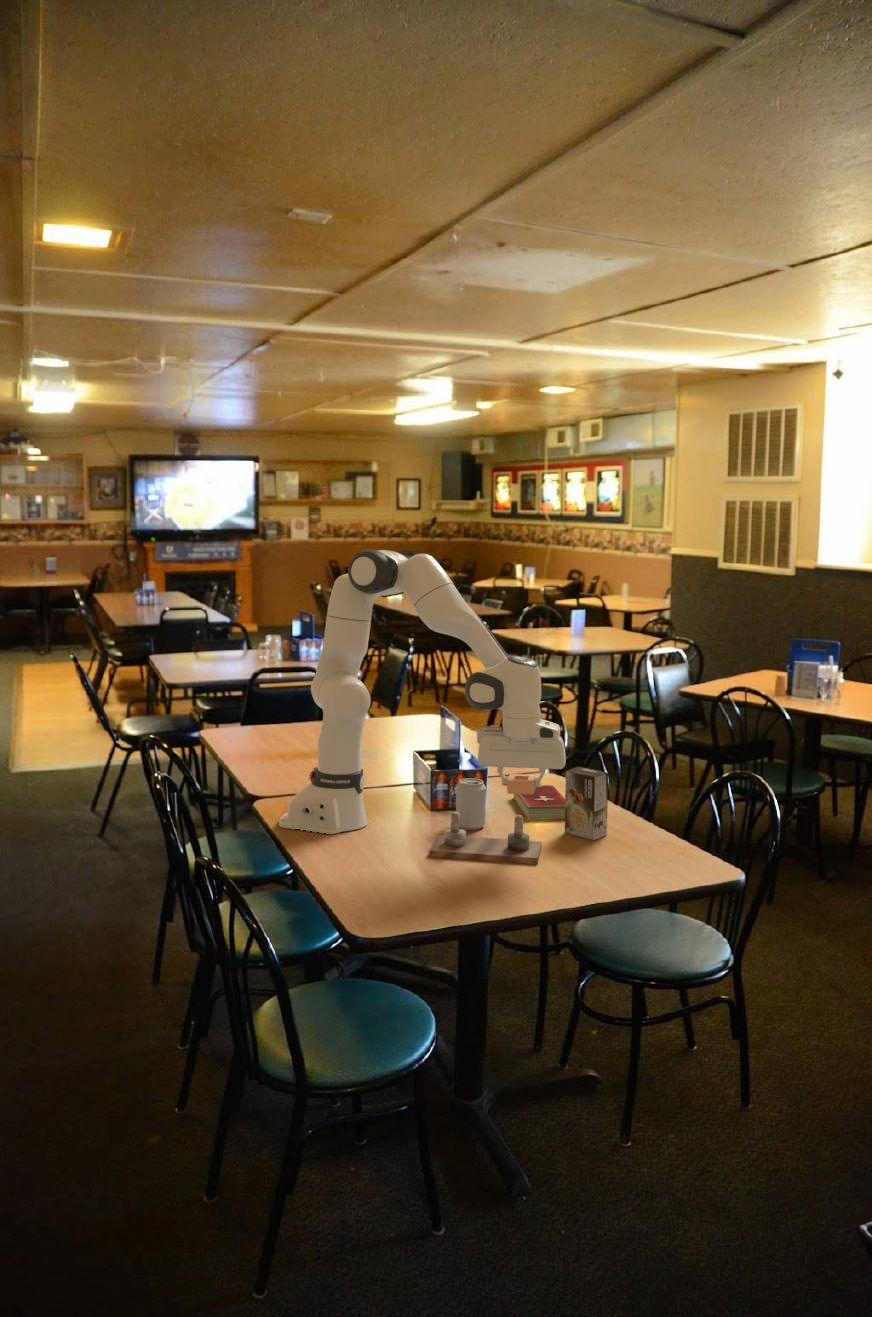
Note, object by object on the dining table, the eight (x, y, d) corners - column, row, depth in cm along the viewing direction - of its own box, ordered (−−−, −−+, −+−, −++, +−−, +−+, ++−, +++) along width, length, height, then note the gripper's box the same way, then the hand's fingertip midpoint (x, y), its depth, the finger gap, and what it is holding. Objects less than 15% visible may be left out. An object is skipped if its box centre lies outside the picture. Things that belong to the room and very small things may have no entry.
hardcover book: (553, 798, 285) (554, 784, 284) (572, 820, 264) (572, 805, 263) (511, 799, 283) (512, 784, 282) (527, 821, 262) (528, 806, 262)
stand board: (429, 856, 233) (429, 817, 232) (438, 840, 245) (438, 802, 243) (537, 864, 229) (538, 824, 227) (541, 847, 240) (542, 809, 239)
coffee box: (608, 835, 250) (610, 772, 248) (593, 841, 246) (595, 777, 244) (577, 827, 257) (579, 765, 254) (562, 832, 252) (564, 770, 250)
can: (482, 832, 252) (483, 785, 250) (453, 829, 253) (454, 783, 252) (487, 823, 259) (488, 777, 257) (458, 821, 261) (459, 776, 259)
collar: (507, 793, 231) (507, 781, 231) (510, 786, 237) (509, 774, 237) (533, 794, 230) (533, 781, 230) (535, 787, 236) (535, 774, 236)
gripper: (475, 729, 230) (475, 787, 232) (565, 731, 226) (564, 791, 228) (478, 723, 236) (478, 780, 238) (566, 725, 233) (565, 783, 235)
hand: (521, 785), depth 233 cm, fingers closed on collar, 6 cm apart
